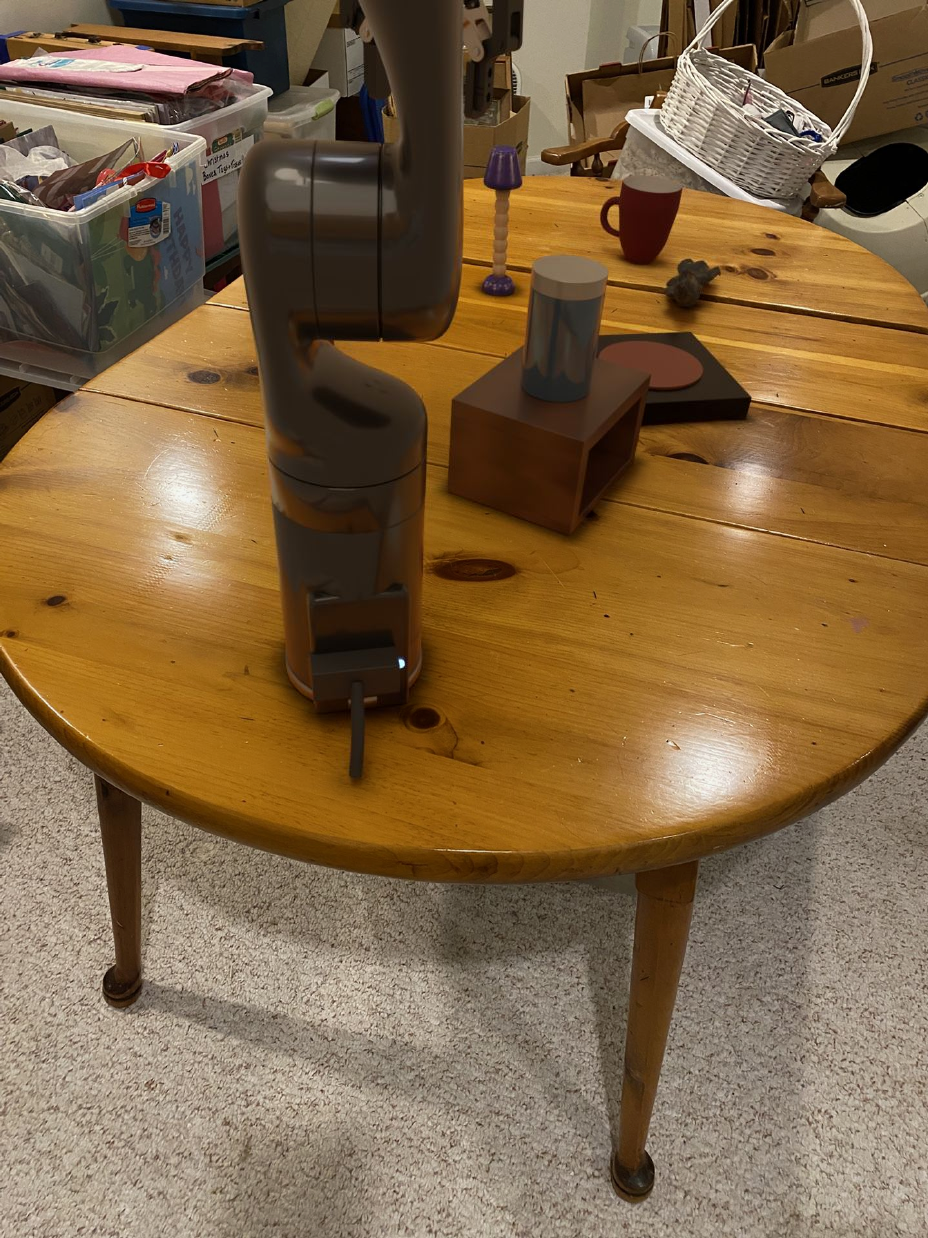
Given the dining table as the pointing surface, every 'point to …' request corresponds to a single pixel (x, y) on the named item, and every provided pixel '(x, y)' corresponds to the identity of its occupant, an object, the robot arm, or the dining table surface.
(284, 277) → the robot arm
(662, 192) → the mug
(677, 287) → the statue
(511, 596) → the dining table surface
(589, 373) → the jar
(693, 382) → the hot plate
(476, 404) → the shelf
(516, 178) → the toy lamp
